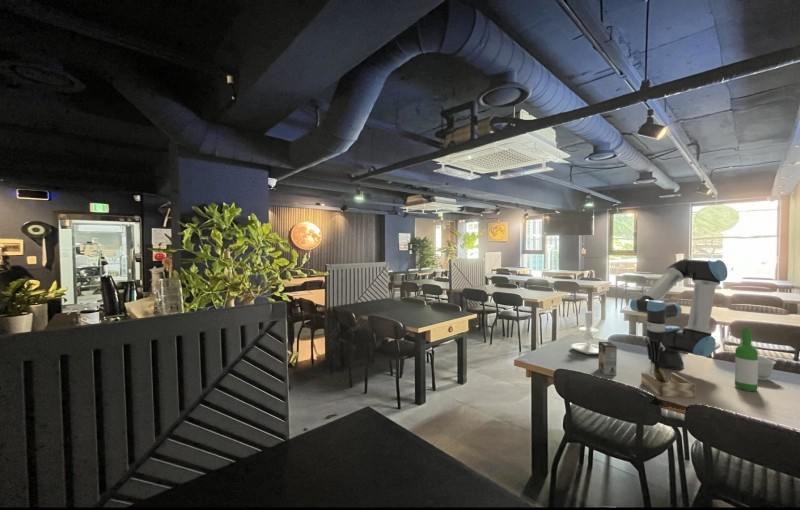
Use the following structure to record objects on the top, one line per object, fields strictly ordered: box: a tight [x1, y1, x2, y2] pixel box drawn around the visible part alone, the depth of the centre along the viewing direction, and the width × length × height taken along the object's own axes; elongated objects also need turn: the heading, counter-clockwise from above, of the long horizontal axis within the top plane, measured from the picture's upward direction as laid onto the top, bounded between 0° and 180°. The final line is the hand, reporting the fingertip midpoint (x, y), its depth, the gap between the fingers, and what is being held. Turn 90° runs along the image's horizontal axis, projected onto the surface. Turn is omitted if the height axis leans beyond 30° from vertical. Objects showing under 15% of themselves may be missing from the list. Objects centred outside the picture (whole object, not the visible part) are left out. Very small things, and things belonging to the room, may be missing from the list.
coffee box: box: [598, 341, 618, 376], centre depth 186 cm, size 9×6×16 cm
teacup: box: [758, 355, 777, 381], centre depth 175 cm, size 12×15×10 cm
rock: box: [654, 367, 669, 383], centre depth 166 cm, size 11×9×10 cm
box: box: [640, 371, 696, 398], centre depth 162 cm, size 15×14×6 cm
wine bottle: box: [734, 327, 759, 392], centre depth 162 cm, size 8×8×30 cm
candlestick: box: [570, 310, 599, 355], centre depth 217 cm, size 21×25×28 cm
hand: (655, 375), depth 171 cm, fingers closed
